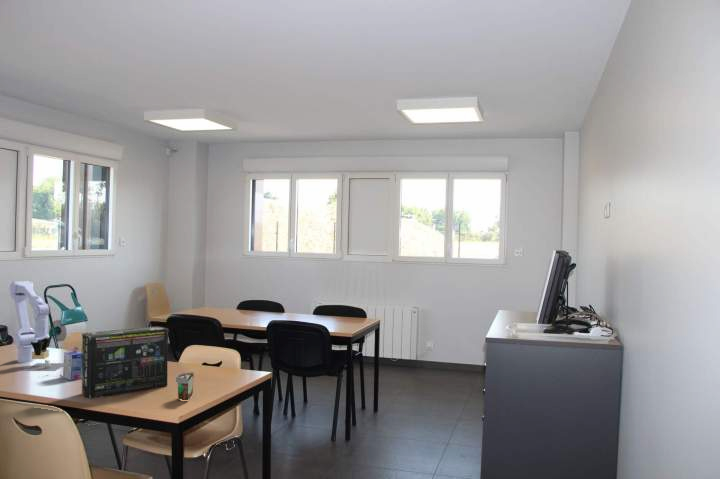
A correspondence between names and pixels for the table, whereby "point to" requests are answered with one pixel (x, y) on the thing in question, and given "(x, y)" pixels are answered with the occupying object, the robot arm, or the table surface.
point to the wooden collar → (41, 355)
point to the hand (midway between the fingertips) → (40, 354)
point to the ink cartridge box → (72, 365)
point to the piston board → (41, 367)
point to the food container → (185, 385)
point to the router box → (124, 361)
